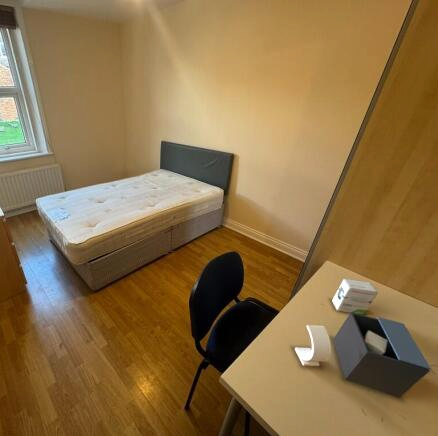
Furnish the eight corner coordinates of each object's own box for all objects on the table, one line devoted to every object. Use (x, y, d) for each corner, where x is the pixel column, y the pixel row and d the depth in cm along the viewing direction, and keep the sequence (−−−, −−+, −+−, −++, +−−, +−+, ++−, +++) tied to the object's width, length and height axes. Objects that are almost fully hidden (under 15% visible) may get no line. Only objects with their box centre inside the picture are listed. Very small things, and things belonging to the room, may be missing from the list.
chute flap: (403, 324, 65) (403, 323, 65) (430, 369, 55) (431, 368, 54) (376, 317, 67) (377, 316, 67) (398, 360, 56) (399, 359, 56)
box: (352, 351, 72) (368, 329, 66) (370, 362, 69) (388, 339, 63) (347, 362, 69) (364, 340, 63) (366, 374, 66) (385, 352, 60)
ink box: (357, 304, 87) (371, 282, 82) (364, 315, 83) (380, 292, 77) (331, 300, 89) (343, 277, 84) (336, 310, 85) (350, 287, 79)
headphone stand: (309, 349, 73) (323, 325, 67) (320, 369, 68) (337, 346, 62) (294, 348, 73) (307, 325, 67) (304, 369, 68) (319, 345, 62)
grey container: (379, 352, 72) (402, 325, 65) (399, 398, 61) (430, 371, 55) (333, 339, 76) (350, 311, 69) (345, 379, 65) (367, 352, 59)
